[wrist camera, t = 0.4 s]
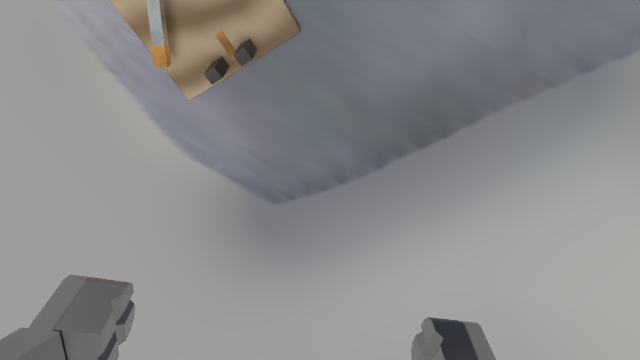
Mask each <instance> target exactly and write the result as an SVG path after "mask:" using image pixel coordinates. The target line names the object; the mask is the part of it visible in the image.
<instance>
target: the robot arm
mask: <svg viewBox="0 0 640 360" xmlns="http://www.w3.org/2000/svg"><path fill="white" fill-rule="evenodd" d="M132 294H133V284H132V283H128V282H121V281H114V280H107V279H100V278H93V277H84V276H77V275H69V276H68V277H66V278H65V279H64V280H63V281H62V283H61V284H60V285H59V287H58V288H57V289H56V291H55V292H54V294H53V295H52V296H51V298H50V299H49V300H48V302H47V303H46V305H45V306H44V307H43V309H42V310H41V311H40V313H39V314H38V315H37V317H36V318H35V319H34V321H33V322H32V323H31V325H30V326H29V328H20V329H18V330H17V331H15V332H13V333H11V334H10V335H8V336H6V337H4V338H3V339H1V340H0V360H117V359H118V356H119V353H118V345H120V344H121V343H123V342H124V341H125V340H126V339H127V337H128V334H129V332H130V330H131V326H132V323H133V319H134V312H135V306H134V303H133V302H132V301H131V300H130V298H131V297H132ZM421 327H422V330H423V331H422V332H421V333H419V334H417V335H416V336H415V338H414V341H413V343H412V351H411V354H412V360H496V359H495V357H494V355H493V353H492V350H491V348H490V346H489V344H488V341H487V339H486V337H485V335H484V333H483V330H482V328H481V326H480V325H479V324H478V323H472V322H463V321H457V320H448V319H438V318H429V317H428V318H426V319H425V320H424V321H423V323H422V325H421Z"/></svg>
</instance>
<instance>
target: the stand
mask: <svg viewBox="0 0 640 360" xmlns="http://www.w3.org/2000/svg"><path fill="white" fill-rule="evenodd" d="M109 1H110V2H111V3H112V4H113V6H114V7H115V8H116V9H117V11H118V12H119V13H120V14H121V16H122V17H123V18H124V19H125V21H126V22H127V23H128V24H129V26H130V27H131V28H132V29H133V31H134V32H135V33H136V34H137V36H138V37H139V38H140V39H141V41H142V42H143V43H144V45H145V46H146V47H147V48H148V50H149V51H150V52H151V53H152V55H153V52H152V40H151V33H150V26H149V18H148V11H147V4H146V0H109ZM163 2H164V11H165V19H166V28H167V37H168V44H169V49H170V58H171V65H169V66H168V67H163V68H164V70H165V71H166V72H167V73H168V75H169V76H170V77H171V78H172V80H173V81H174V82H175V83H176V85H177V86H178V87H179V88H180V90H181V91H182V92H183V93H184V95H185V96H186V97H187V98H188V100H191V99H192V98H194V97H196V96H197V95H199V94H200V93H202V92H204V91H205V90H207V89H208V88H210V87H212V86H213V85H215V84H216V83H218V82H220V81H221V80H223V79H225V78H226V77H228V76H229V75H231V74H233V73H234V72H236V71H237V70H239V69H241V68H242V67H244V66H246V65H247V64H249V63H250V62H252V61H254V60H255V59H257V58H258V57H260V56H262V55H263V54H265V53H266V52H268V51H270V50H271V49H273V48H275V47H276V46H278V45H279V44H281V43H283V42H284V41H286V40H287V39H289V38H291V37H292V36H294V35H296V34H297V33H299V32H300V31H301V29H300V27H299V25H298V23H297V22H296V20H295V18H294V16H293V15H292V13H291V11H290V9H289V8H288V6H287V4H286V2H285V1H284V0H163Z"/></svg>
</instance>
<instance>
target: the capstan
mask: <svg viewBox="0 0 640 360" xmlns="http://www.w3.org/2000/svg"><path fill="white" fill-rule="evenodd" d="M146 4H147V11H148V18H149V26H150V33H151V40H152V52H153V59H154V66H156V67H168V66H169V65H171V58H170V49H169V44H168V37H167V28H166V19H165V11H164V2H163V0H146Z"/></svg>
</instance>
